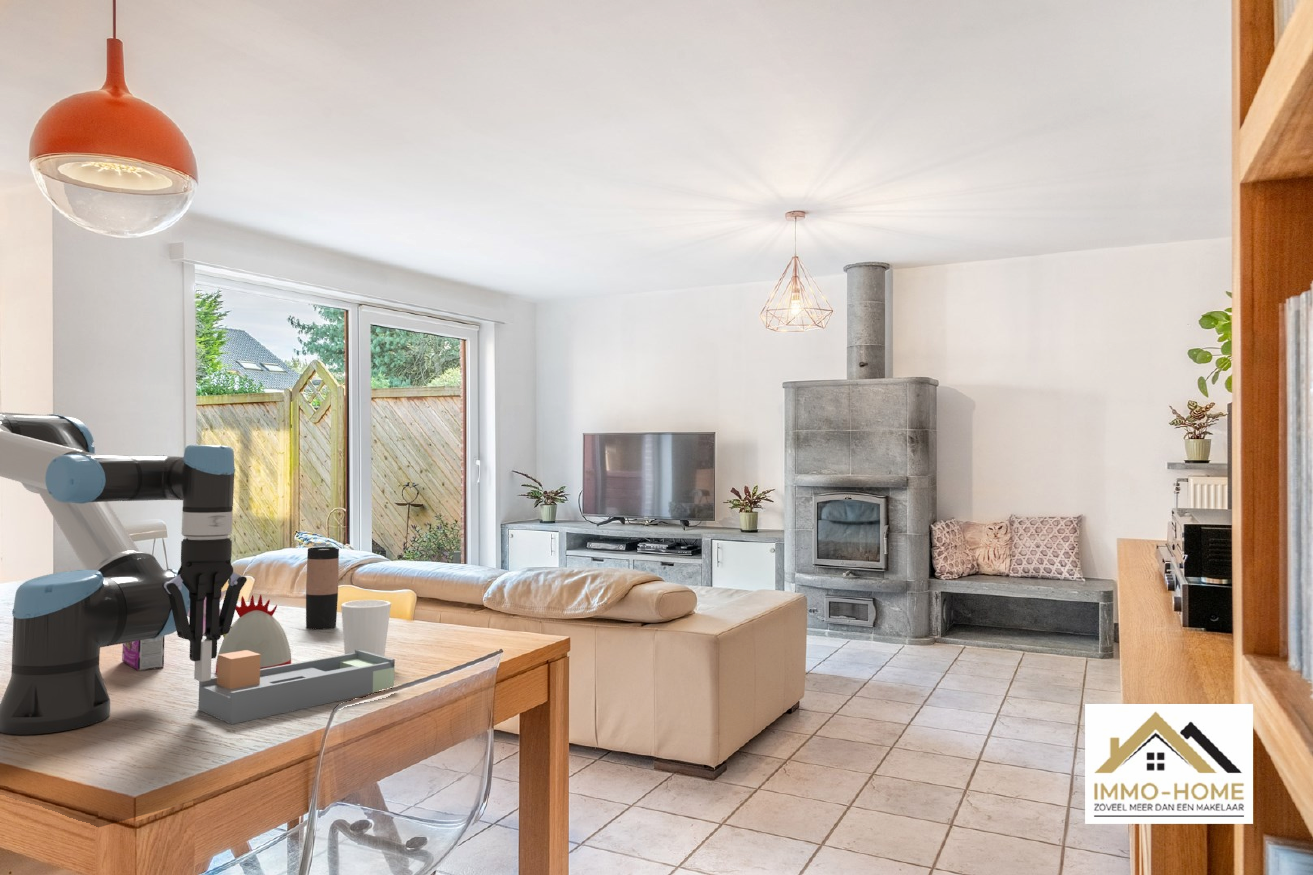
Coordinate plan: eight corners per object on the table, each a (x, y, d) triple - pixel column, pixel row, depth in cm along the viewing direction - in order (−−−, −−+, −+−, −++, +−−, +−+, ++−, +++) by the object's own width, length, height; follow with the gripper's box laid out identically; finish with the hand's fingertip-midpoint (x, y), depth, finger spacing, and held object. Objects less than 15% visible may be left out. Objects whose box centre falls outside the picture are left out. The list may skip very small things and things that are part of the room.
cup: (330, 664, 180) (332, 602, 180) (374, 656, 187) (375, 598, 187) (354, 672, 173) (356, 608, 173) (398, 664, 180) (399, 603, 181)
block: (230, 689, 144) (231, 659, 144) (216, 683, 147) (217, 654, 147) (259, 683, 148) (260, 654, 148) (246, 678, 151) (247, 649, 151)
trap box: (231, 724, 138) (232, 689, 138) (198, 709, 146) (199, 676, 146) (393, 688, 161) (394, 659, 161) (357, 677, 169) (358, 649, 169)
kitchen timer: (219, 663, 179) (222, 591, 179) (291, 659, 184) (293, 588, 185) (212, 679, 166) (215, 601, 167) (290, 674, 171) (292, 598, 172)
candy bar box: (119, 662, 178) (122, 582, 179) (146, 658, 182) (149, 580, 182) (137, 671, 171) (140, 588, 171) (164, 667, 174) (167, 586, 175)
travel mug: (298, 628, 216) (301, 549, 217) (315, 623, 224) (317, 546, 224) (326, 630, 215) (329, 550, 216) (342, 624, 223) (345, 547, 223)
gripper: (174, 540, 136) (169, 691, 136) (256, 536, 146) (252, 676, 146) (155, 537, 141) (150, 682, 140) (236, 533, 151) (231, 669, 150)
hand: (202, 679), depth 143 cm, fingers closed
